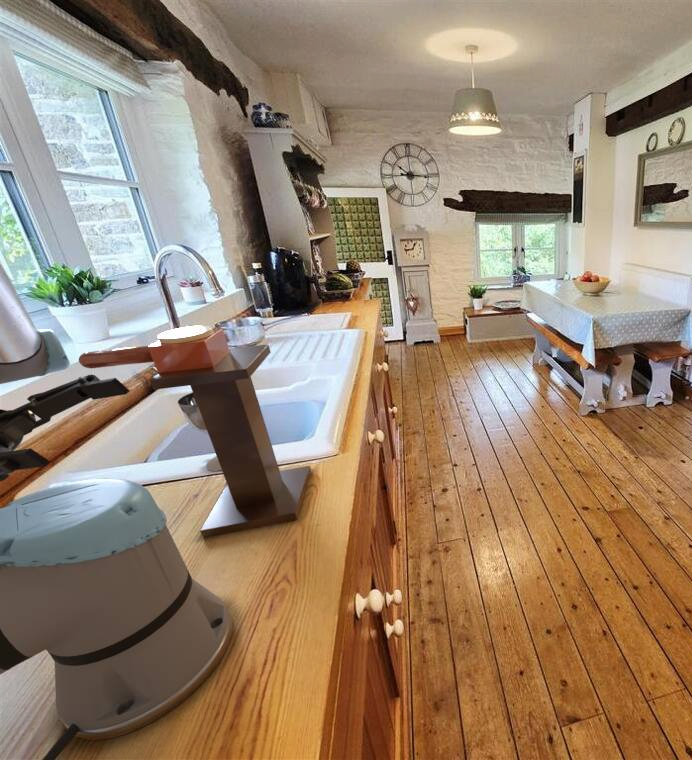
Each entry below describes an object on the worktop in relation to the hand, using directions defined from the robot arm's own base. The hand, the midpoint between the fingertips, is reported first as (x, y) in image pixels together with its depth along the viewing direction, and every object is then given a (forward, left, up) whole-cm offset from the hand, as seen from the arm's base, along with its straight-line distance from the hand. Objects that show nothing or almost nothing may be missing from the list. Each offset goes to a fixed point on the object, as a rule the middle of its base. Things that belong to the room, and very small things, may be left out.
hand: (83, 418), depth 57 cm
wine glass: (+20, +9, -22) cm, 31 cm away
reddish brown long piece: (+9, -4, +5) cm, 11 cm away
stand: (+13, -10, -22) cm, 28 cm away
